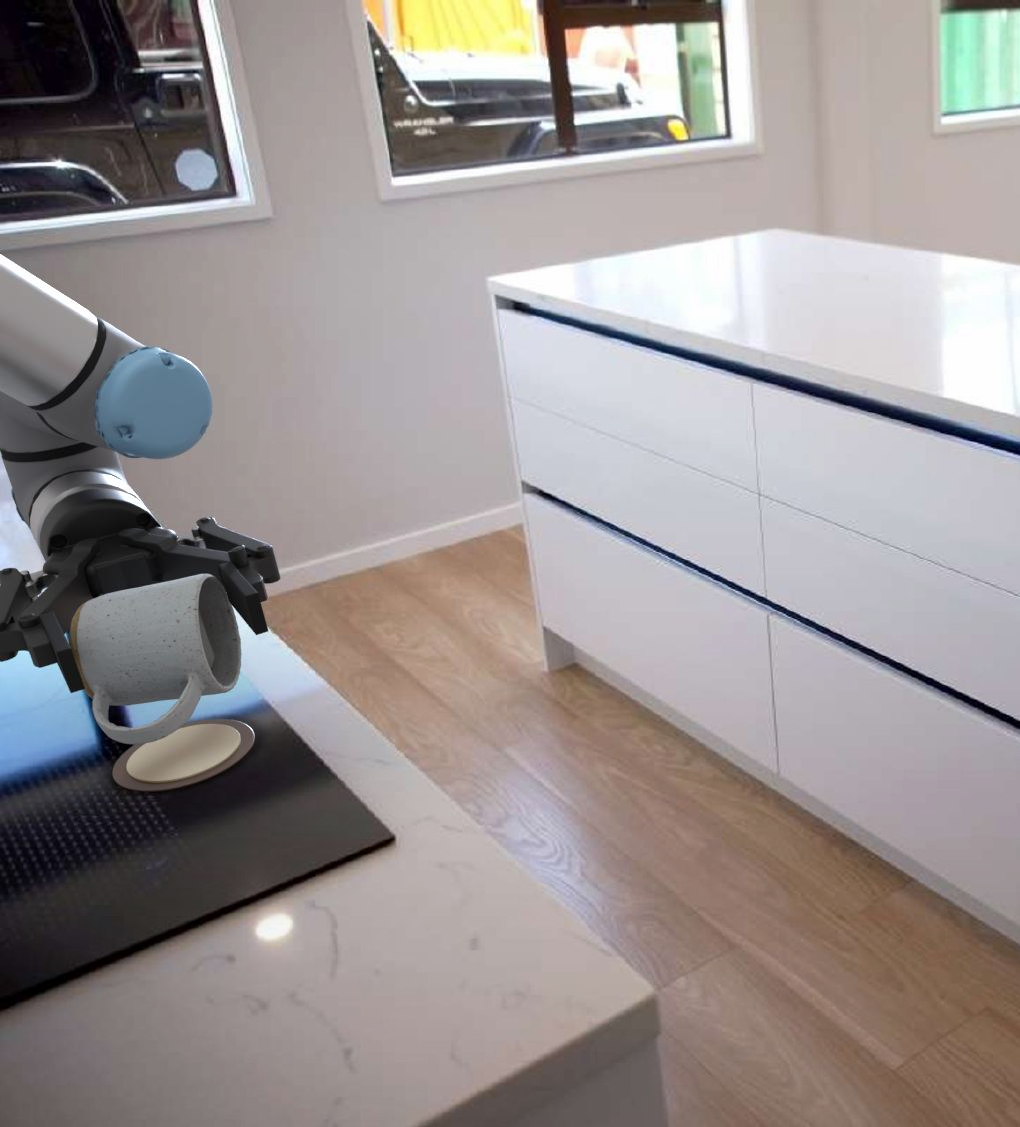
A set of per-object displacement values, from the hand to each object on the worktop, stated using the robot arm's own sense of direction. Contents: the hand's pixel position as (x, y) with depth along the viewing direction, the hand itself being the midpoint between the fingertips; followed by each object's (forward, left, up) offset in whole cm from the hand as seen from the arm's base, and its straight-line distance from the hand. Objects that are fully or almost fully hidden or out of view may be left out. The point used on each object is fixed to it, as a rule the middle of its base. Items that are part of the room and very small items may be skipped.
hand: (167, 641), depth 77 cm
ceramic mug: (-3, +3, -6) cm, 8 cm away
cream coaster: (-11, +15, -18) cm, 26 cm away
